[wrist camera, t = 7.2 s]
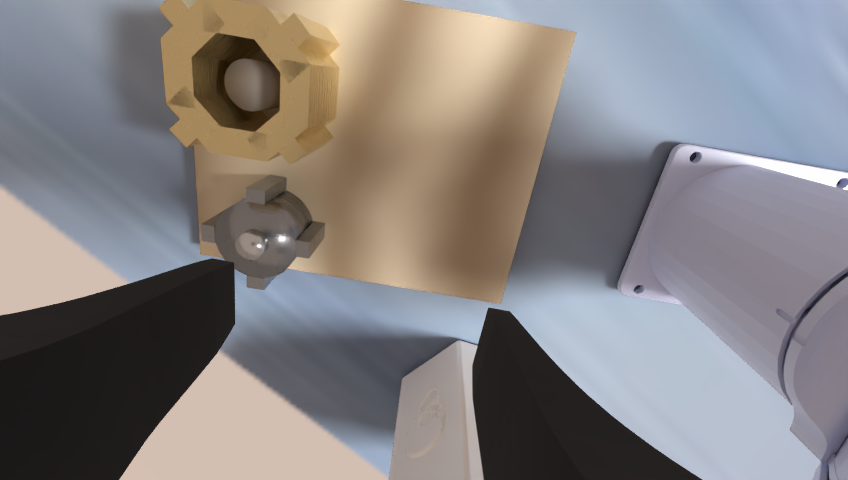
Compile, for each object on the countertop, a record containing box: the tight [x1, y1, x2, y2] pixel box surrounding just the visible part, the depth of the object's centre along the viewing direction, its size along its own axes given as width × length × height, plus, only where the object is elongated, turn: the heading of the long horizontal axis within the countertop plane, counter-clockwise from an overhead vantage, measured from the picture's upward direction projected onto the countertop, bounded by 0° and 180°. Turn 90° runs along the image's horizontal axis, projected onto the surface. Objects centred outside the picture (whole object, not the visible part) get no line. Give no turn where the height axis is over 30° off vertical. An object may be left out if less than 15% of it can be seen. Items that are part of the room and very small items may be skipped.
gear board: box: [194, 0, 576, 304], centre depth 17 cm, size 16×13×4 cm
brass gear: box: [159, 0, 340, 165], centre depth 15 cm, size 5×5×4 cm
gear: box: [201, 175, 325, 290], centre depth 18 cm, size 5×5×3 cm
